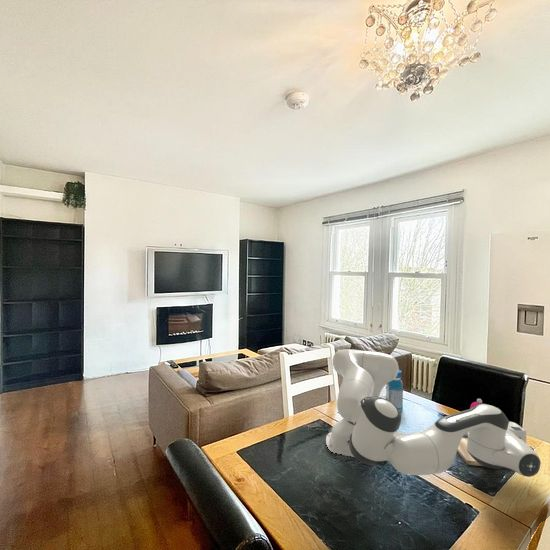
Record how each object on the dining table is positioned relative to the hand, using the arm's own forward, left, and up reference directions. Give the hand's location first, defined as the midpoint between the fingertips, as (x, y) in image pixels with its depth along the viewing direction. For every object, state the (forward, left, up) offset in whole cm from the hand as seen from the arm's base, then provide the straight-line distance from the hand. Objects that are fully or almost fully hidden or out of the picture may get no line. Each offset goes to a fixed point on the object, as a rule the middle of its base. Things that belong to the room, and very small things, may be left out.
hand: (478, 418), depth 119 cm
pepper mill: (0, -1, -12) cm, 12 cm away
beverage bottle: (-23, +35, -14) cm, 44 cm away
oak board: (0, -1, -13) cm, 14 cm away
